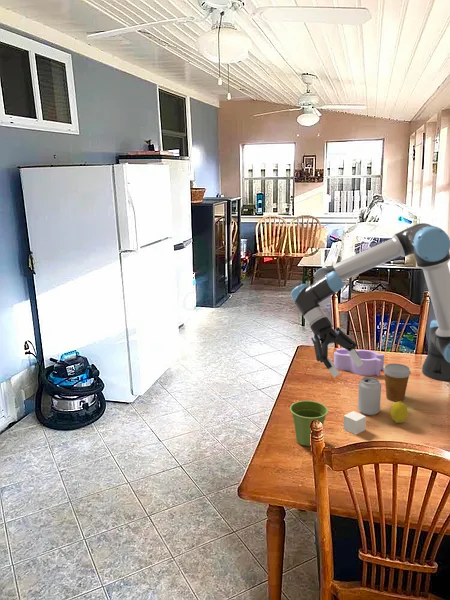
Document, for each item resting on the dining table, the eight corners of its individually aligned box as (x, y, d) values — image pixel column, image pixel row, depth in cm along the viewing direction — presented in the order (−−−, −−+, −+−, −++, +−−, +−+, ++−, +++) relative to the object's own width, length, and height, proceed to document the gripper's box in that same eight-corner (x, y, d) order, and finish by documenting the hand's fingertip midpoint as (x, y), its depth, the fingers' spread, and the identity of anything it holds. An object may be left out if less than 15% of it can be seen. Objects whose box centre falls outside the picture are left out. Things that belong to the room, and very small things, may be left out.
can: (365, 404, 181) (366, 373, 178) (383, 411, 176) (385, 379, 173) (353, 411, 176) (355, 380, 173) (372, 418, 171) (374, 386, 168)
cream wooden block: (352, 424, 167) (353, 410, 166) (365, 430, 164) (365, 416, 162) (343, 429, 164) (343, 415, 163) (355, 435, 161) (356, 421, 159)
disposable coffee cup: (414, 400, 183) (416, 370, 180) (392, 405, 180) (394, 374, 177) (397, 390, 191) (399, 361, 188) (376, 394, 188) (378, 365, 185)
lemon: (408, 427, 164) (409, 405, 162) (390, 426, 165) (392, 404, 163) (405, 419, 169) (407, 398, 167) (388, 418, 170) (390, 397, 168)
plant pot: (313, 455, 150) (314, 421, 147) (282, 442, 158) (282, 409, 155) (334, 439, 158) (335, 407, 155) (303, 427, 166) (303, 396, 163)
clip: (330, 370, 212) (331, 355, 211) (338, 360, 223) (339, 346, 221) (378, 378, 203) (379, 362, 201) (384, 367, 214) (385, 352, 212)
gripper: (334, 320, 197) (363, 366, 189) (289, 333, 182) (319, 384, 174) (345, 310, 191) (376, 357, 184) (300, 323, 177) (332, 375, 169)
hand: (348, 370), depth 179 cm, fingers open, 13 cm apart
